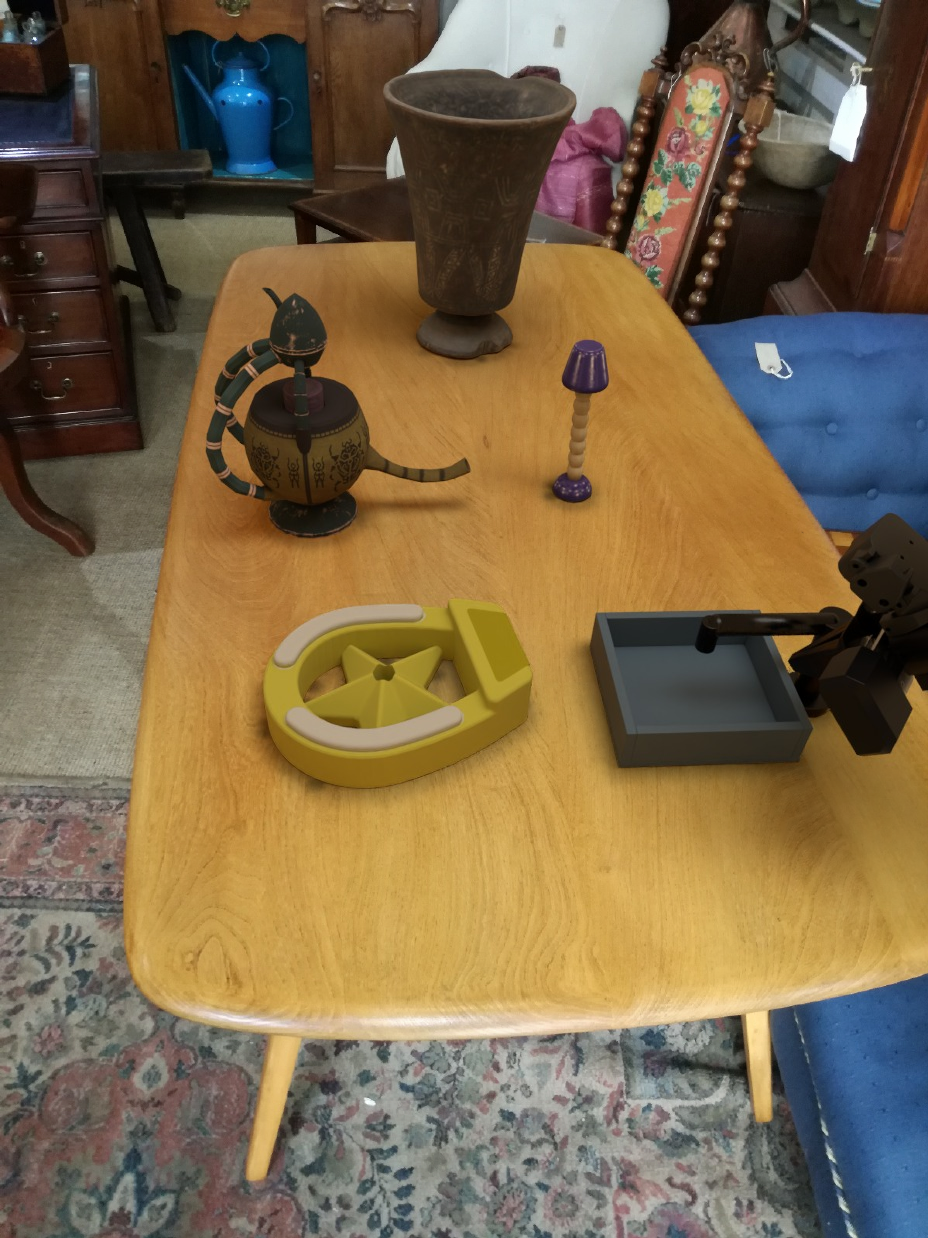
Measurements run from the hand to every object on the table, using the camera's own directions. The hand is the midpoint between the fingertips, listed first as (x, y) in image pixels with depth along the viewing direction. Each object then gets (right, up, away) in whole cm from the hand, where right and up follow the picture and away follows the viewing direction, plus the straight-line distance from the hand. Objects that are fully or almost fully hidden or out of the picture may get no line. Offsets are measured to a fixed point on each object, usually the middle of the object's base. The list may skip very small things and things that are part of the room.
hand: (792, 663), depth 71 cm
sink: (-6, -4, +8) cm, 11 cm away
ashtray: (-31, -4, +7) cm, 32 cm away
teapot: (-37, +14, +26) cm, 47 cm away
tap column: (+4, -3, +9) cm, 10 cm away
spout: (0, +1, +4) cm, 4 cm away
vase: (-24, +41, +55) cm, 73 cm away
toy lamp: (-13, +17, +30) cm, 37 cm away
